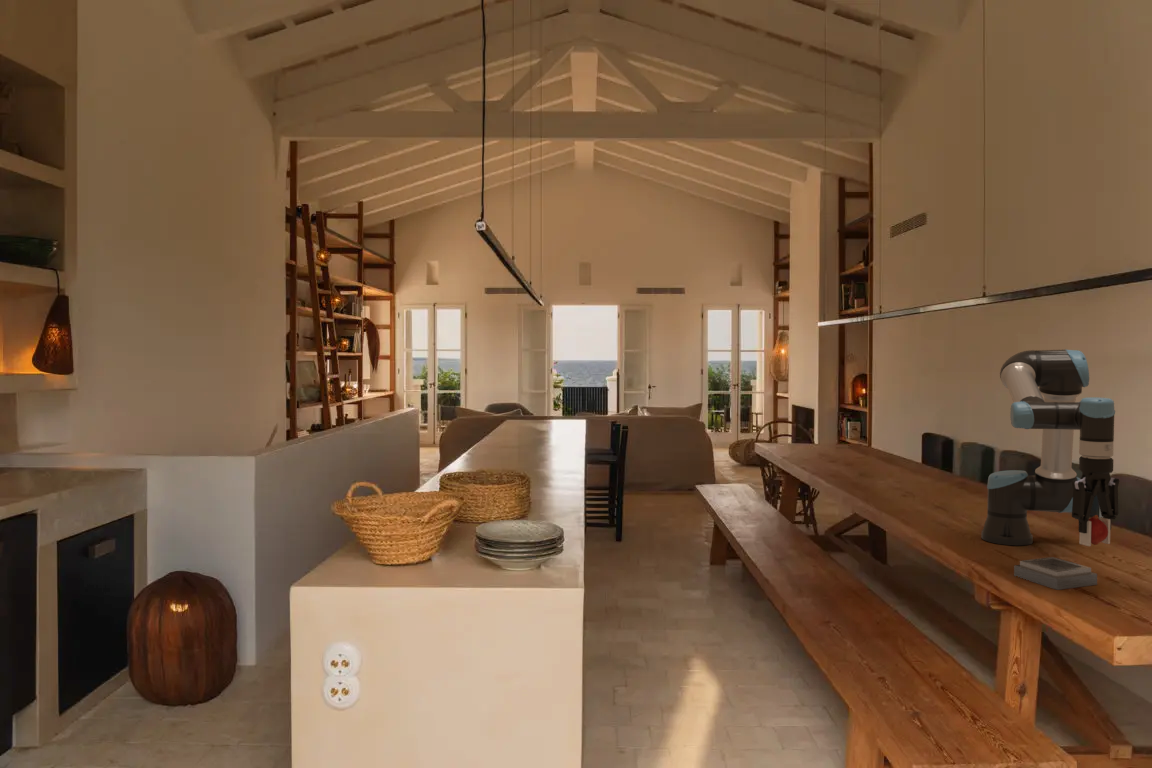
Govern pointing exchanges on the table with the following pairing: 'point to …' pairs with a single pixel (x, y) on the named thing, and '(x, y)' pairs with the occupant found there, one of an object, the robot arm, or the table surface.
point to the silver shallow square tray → (1055, 573)
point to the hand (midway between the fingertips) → (1094, 543)
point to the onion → (1097, 530)
